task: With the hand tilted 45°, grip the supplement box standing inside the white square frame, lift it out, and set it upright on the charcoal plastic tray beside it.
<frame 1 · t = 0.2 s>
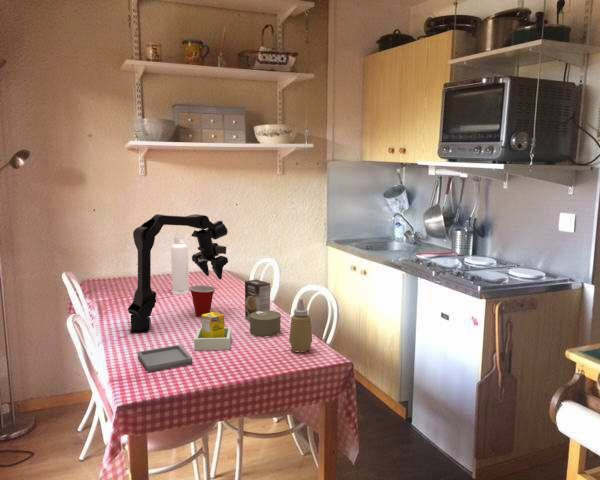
hand: (214, 277, 221), 15 cm above the table, tool pointing down, fingers open, 9 cm apart
coffee box: (257, 320, 213), on the table
tray: (164, 360, 169), on the table
plastic cup: (203, 315, 220), on the table
bottle: (180, 293, 256), on the table
white square frame: (213, 343, 185), on the table
supplement box: (213, 344, 185), resting in white square frame
can: (265, 332, 198), on the table
squeeze bottle: (300, 350, 180), on the table
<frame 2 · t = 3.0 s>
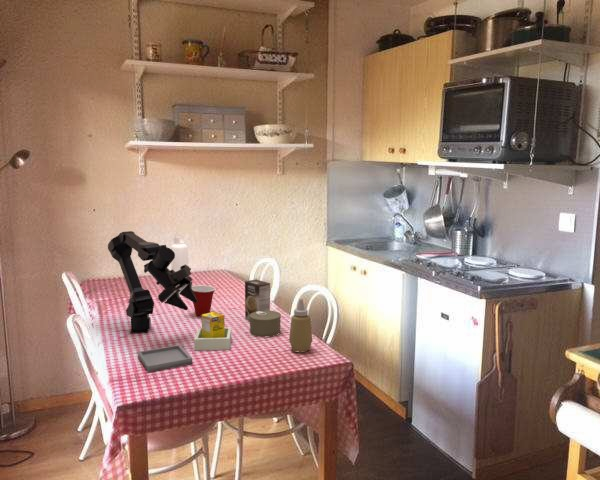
hand: (192, 305, 185), 14 cm above the table, tool tilted 45°, fingers open, 9 cm apart
nothing on the table moved.
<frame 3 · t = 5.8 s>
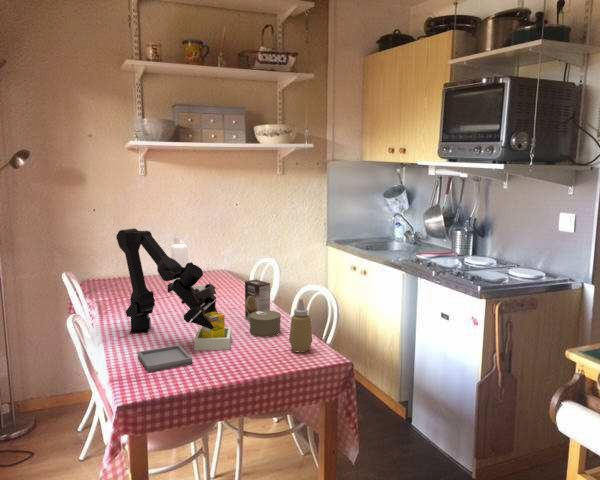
hand: (217, 324, 184), 7 cm above the table, tool tilted 45°, fingers closed on supplement box, 8 cm apart
supplement box: (213, 344, 185), resting in white square frame, touching gripper
everything else where it was.
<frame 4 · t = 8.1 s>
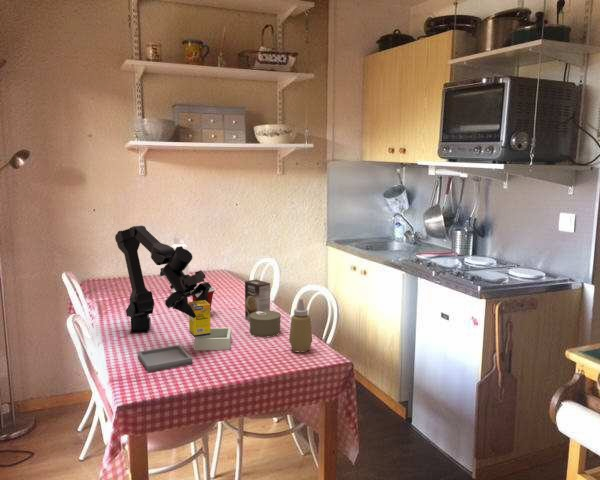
hand: (202, 314, 176), 13 cm above the table, tool tilted 45°, fingers closed on supplement box, 8 cm apart
supplement box: (200, 334, 178), point 6 cm above the table, touching gripper
everything else where it was.
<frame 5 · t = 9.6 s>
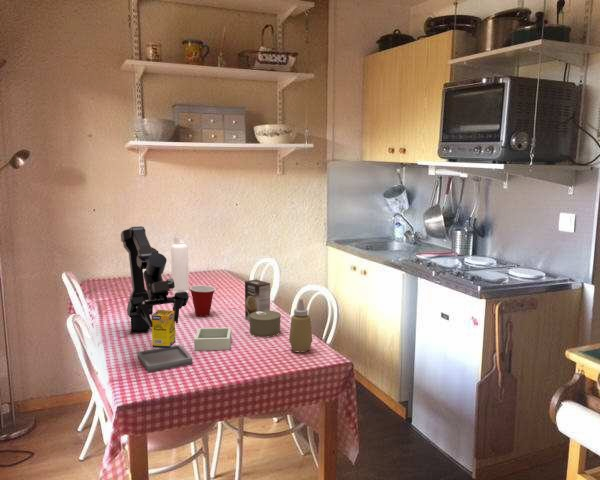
hand: (164, 324, 166), 13 cm above the table, tool tilted 45°, fingers closed on supplement box, 8 cm apart
supplement box: (164, 345, 169), point 5 cm above the table, touching gripper
everything else where it was.
when the fingers open (9 cm above the table, at t = 10.8 s): supplement box stays where it is, resting on tray.
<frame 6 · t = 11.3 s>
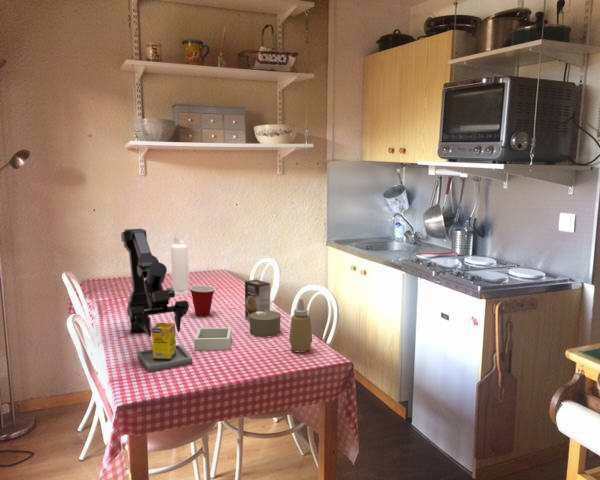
hand: (165, 333, 167), 10 cm above the table, tool tilted 45°, fingers open, 9 cm apart
supplement box: (164, 358, 169), point 1 cm above the table, touching tray
everything else where it was.
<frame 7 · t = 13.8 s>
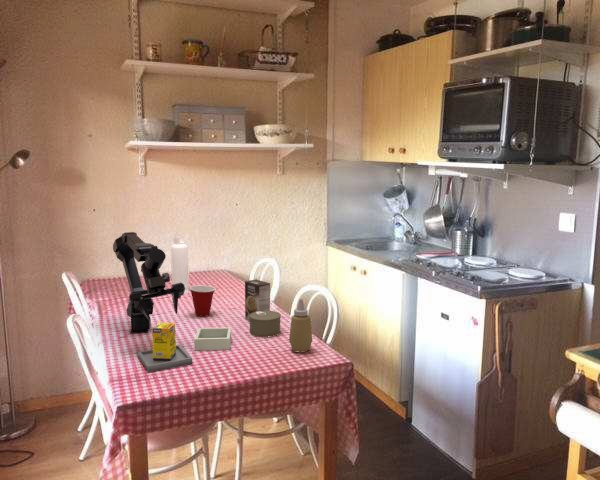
hand: (163, 316, 177), 12 cm above the table, tool tilted 40°, fingers open, 9 cm apart
nothing on the table moved.
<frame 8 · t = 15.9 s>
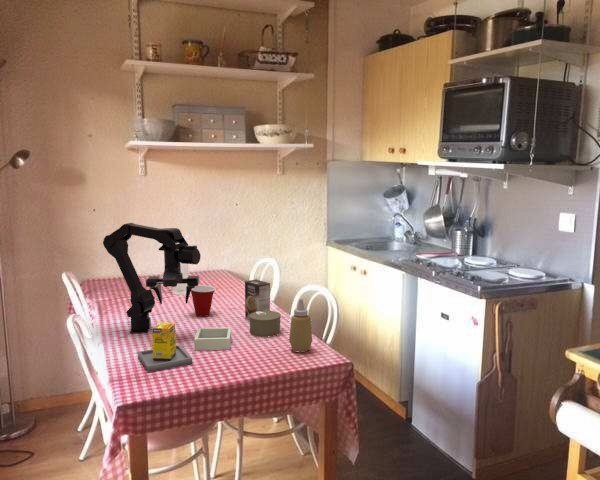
hand: (173, 303, 193), 12 cm above the table, tool pointing down, fingers open, 9 cm apart
nothing on the table moved.
at the end: supplement box inside the target area on the tray (0.2 cm from its centre), point 0.8 cm above the tray's base; supplement box tilted 0°; the gripper is holding nothing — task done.
